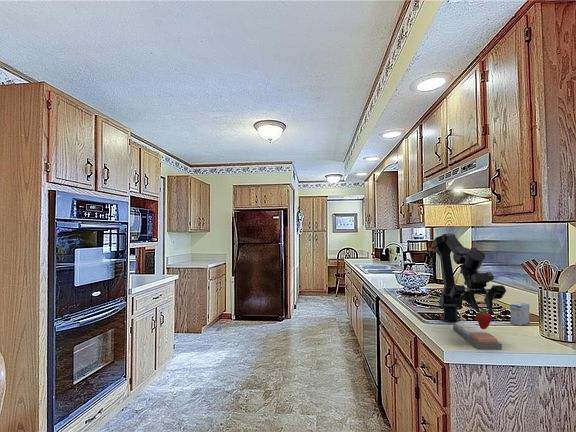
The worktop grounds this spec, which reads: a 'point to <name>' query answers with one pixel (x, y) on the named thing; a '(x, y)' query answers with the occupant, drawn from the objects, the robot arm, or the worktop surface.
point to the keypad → (468, 328)
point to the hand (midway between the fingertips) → (485, 311)
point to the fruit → (483, 318)
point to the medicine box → (519, 313)
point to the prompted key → (483, 338)
